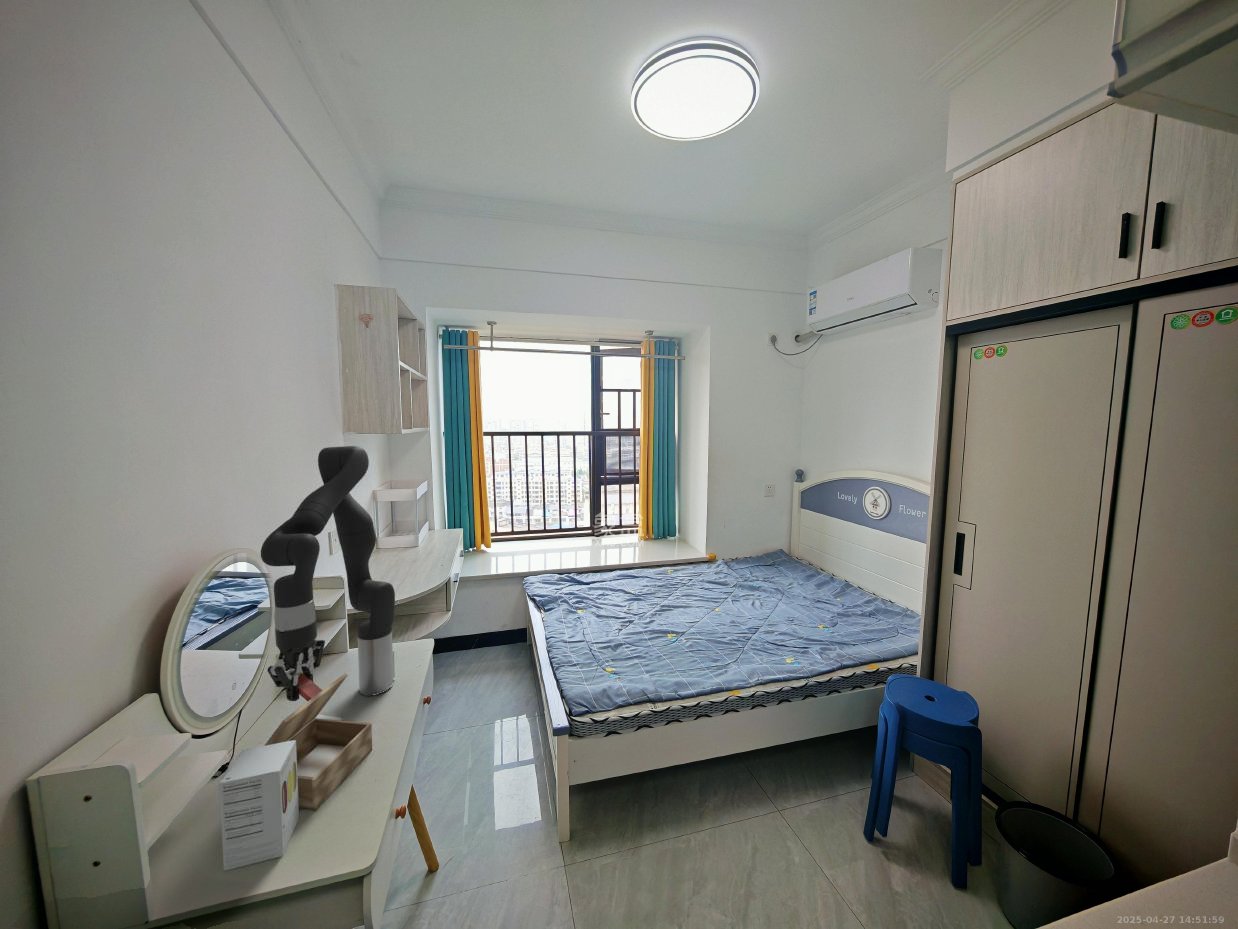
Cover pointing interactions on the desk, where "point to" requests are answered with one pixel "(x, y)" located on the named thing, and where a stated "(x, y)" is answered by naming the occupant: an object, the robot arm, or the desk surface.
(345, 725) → the mailer base
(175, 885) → the desk surface
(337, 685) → the lid
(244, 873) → the desk surface
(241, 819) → the supplement box
